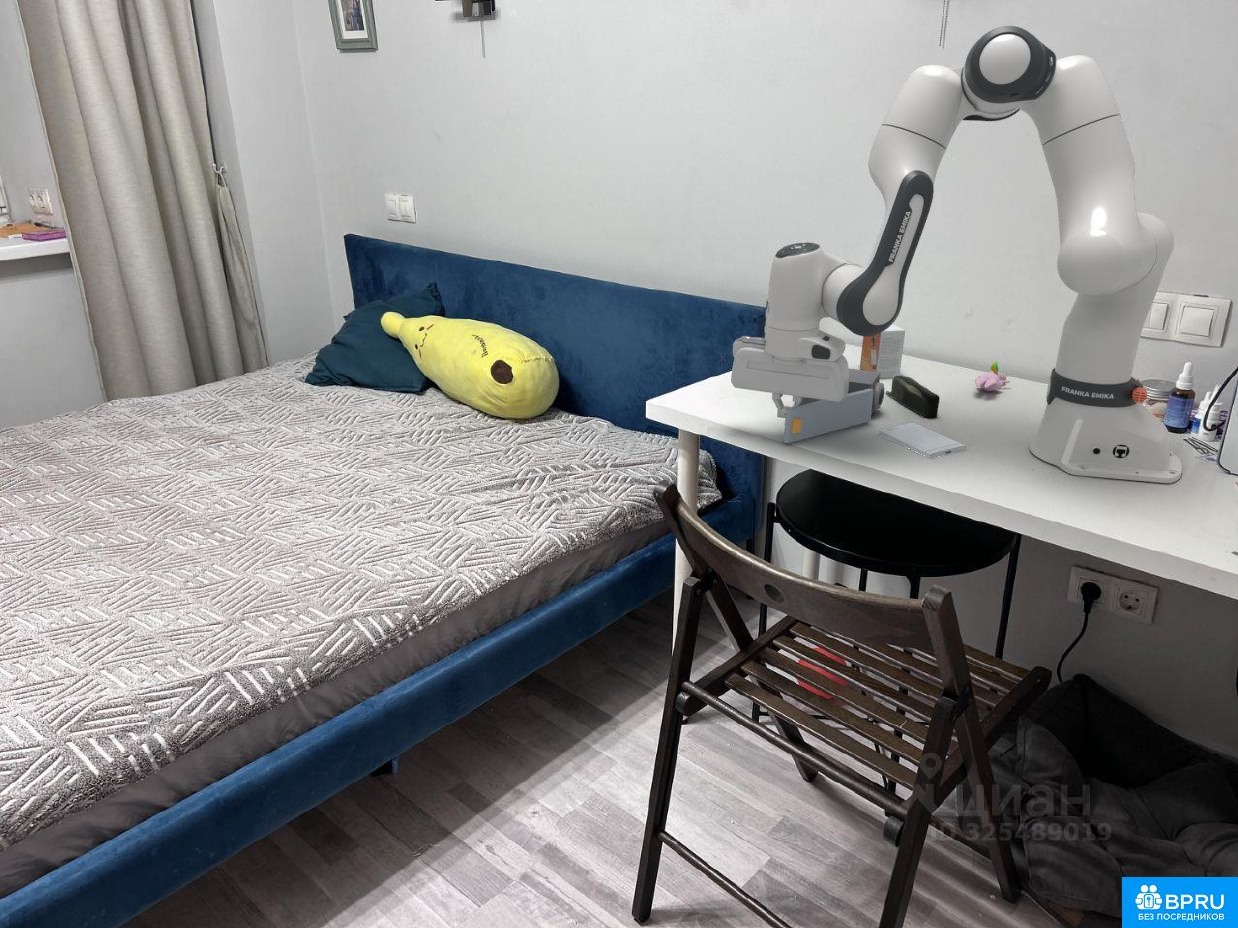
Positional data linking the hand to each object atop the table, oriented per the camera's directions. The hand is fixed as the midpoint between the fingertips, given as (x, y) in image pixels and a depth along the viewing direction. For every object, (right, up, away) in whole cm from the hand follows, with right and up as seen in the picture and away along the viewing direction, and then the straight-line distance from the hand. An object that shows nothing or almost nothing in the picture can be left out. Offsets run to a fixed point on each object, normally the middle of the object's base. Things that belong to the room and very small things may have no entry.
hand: (786, 417), depth 159 cm
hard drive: (+23, -5, -1) cm, 24 cm away
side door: (+8, -2, +2) cm, 9 cm away
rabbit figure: (+46, +7, +24) cm, 52 cm away
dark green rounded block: (+27, +3, +16) cm, 31 cm away
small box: (+26, +11, +35) cm, 45 cm away
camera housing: (+12, +3, +15) cm, 19 cm away
